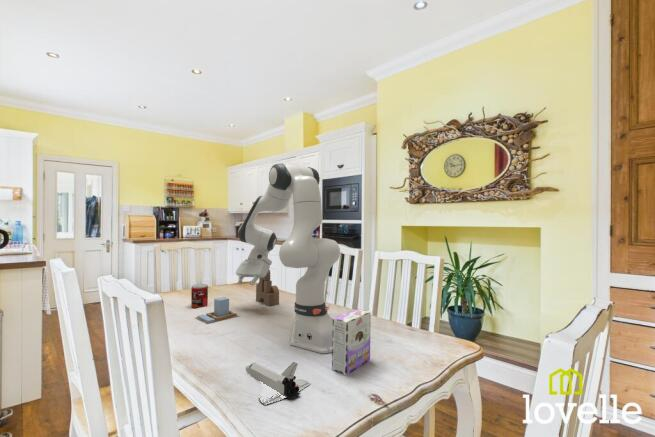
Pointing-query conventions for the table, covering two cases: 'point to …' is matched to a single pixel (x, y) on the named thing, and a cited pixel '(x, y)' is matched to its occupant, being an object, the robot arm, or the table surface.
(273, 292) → the wooden toy
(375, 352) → the table surface
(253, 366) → the space shuttle model
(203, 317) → the plate
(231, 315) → the tray
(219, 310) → the block
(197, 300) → the canned food
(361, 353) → the candy box
